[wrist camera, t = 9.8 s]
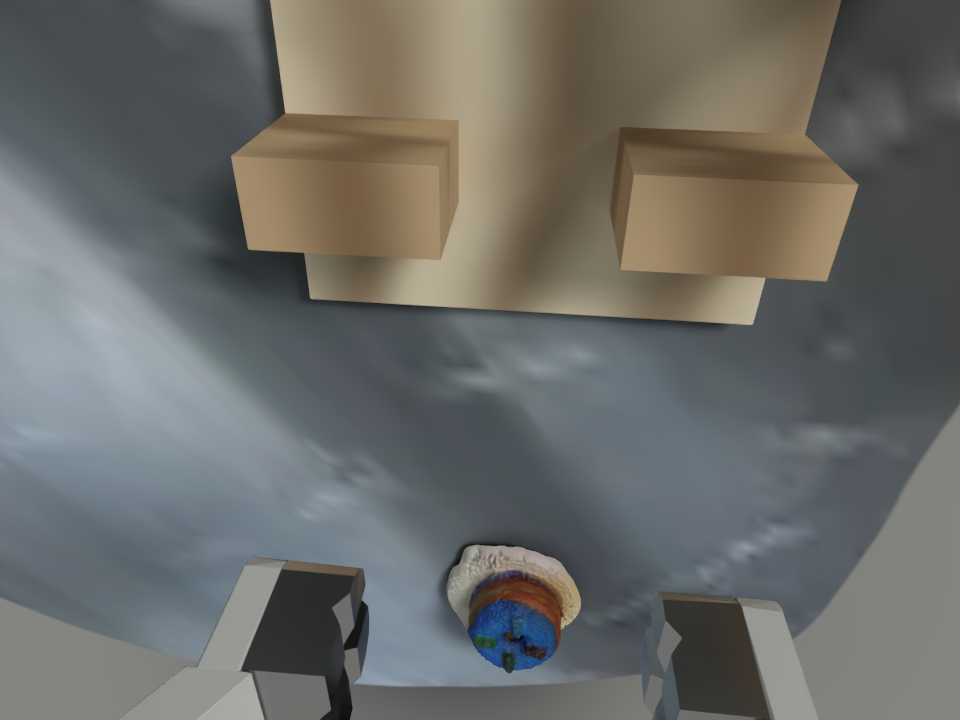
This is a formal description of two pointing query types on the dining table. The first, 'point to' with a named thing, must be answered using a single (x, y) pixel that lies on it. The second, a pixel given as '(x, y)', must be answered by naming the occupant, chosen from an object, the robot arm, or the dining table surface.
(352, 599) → the robot arm
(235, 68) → the dining table surface
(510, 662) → the dessert
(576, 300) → the wooden board with blocks
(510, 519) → the dining table surface
